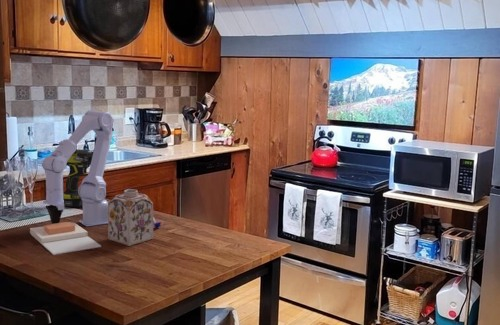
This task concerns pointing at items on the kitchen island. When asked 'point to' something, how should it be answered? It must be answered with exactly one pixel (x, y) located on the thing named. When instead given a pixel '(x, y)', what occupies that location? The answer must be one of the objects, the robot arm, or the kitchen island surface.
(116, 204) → the floral ceramic jar
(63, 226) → the pink flat block
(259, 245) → the kitchen island surface
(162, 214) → the kitchen island surface
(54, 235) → the white flat slab
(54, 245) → the mat
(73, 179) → the power drill
